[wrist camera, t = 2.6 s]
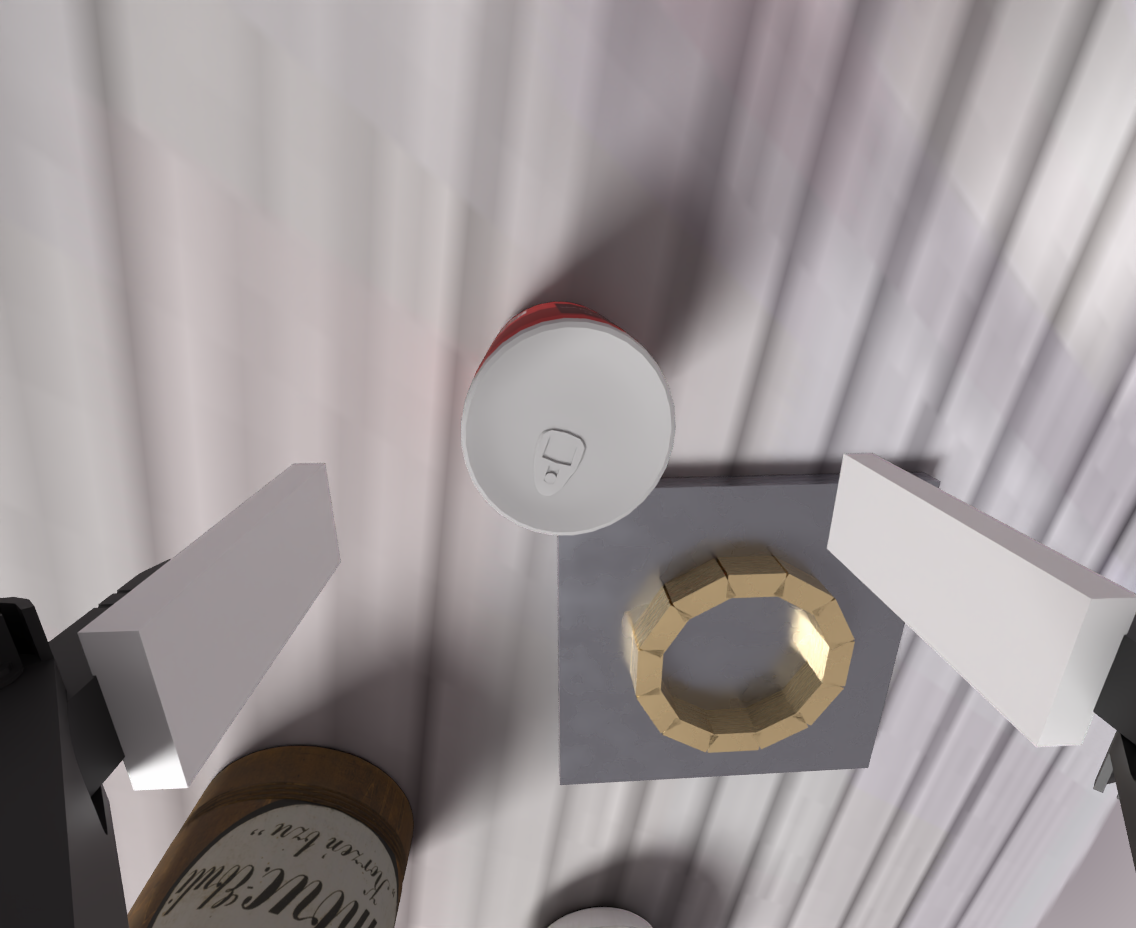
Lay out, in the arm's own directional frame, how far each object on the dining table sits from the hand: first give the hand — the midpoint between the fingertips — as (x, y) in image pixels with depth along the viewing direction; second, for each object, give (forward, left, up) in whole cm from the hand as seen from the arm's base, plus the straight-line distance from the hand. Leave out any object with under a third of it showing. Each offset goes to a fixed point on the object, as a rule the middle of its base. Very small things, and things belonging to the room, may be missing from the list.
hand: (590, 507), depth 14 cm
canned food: (0, 0, -17) cm, 17 cm away
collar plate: (+11, -17, -16) cm, 26 cm away
